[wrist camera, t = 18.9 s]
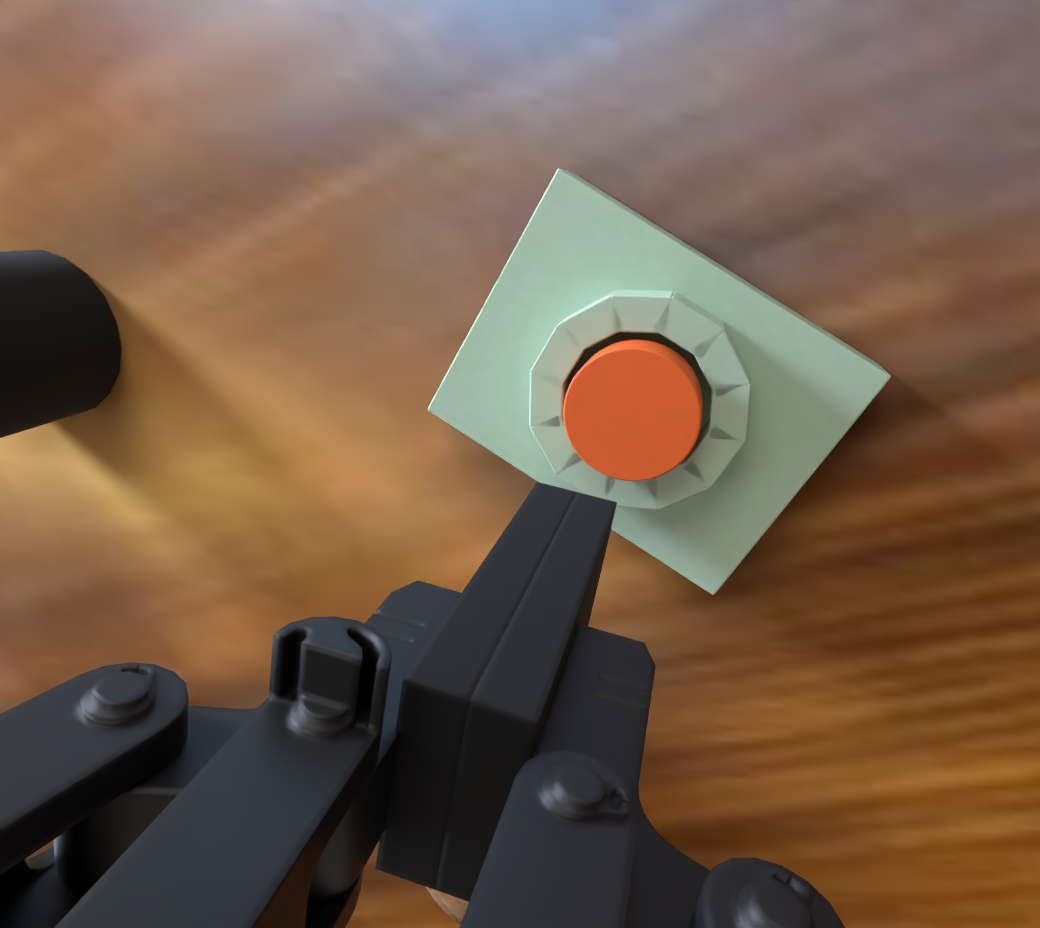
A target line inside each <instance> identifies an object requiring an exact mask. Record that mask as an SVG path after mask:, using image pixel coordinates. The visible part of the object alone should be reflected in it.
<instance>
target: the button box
mask: <svg viewBox="0 0 1040 928" xmlns="http://www.w3.org/2000/svg"><path fill="white" fill-rule="evenodd" d="M630 339H642V340H650V341H654V342H658V343H660V344H663V345H665V346H667V347H669V348H671V349H673V350H674V351H675V352H677V353H678V354H680V355H681V356H682V357H683V358H684V359H685V360H686V361H687V362H688V364H689V365H690V366H691V367H692V369H693V371H694V372H695V374H696V376H697V378H698V380H699V383H700V386H701V390H702V396H703V412H702V422H701V428H700V432H699V436H698V439H697V441H696V443H695V445H694V447H693V449H692V450H691V452H690V453H689V455H688V456H687V457H686V458H685V459H684V460H683V461H682V462H681V463H680V464H679V465H678V466H677V467H675V468H674V469H672V470H671V471H669V472H668V473H666V474H664V475H662V476H659V477H656V478H653V479H649V480H643V481H624V480H618V479H615V478H611V477H608V476H606V475H603V474H601V473H600V472H598V471H596V470H594V469H593V468H592V467H590V466H589V465H588V464H587V463H586V462H584V461H583V460H582V459H581V458H580V456H579V455H578V454H577V453H576V451H575V450H574V448H573V447H572V445H571V443H570V441H569V439H568V436H567V433H566V430H565V426H564V420H563V407H564V400H565V396H566V393H567V390H568V387H569V385H570V383H571V381H572V379H573V378H574V376H575V375H576V374H577V372H578V371H579V370H580V369H581V368H582V367H583V366H584V364H585V363H586V362H587V361H588V360H589V359H590V358H591V357H592V356H593V355H594V354H596V353H597V352H598V351H600V350H601V349H603V348H605V347H606V346H609V345H611V344H613V343H616V342H620V341H624V340H630ZM890 378H891V376H890V375H889V374H888V373H887V372H886V371H885V370H884V369H883V368H882V367H881V366H880V365H879V364H878V363H876V362H875V361H873V360H872V359H870V358H868V357H867V356H865V355H864V354H862V353H860V352H859V351H857V350H856V349H854V348H852V347H851V346H849V345H848V344H846V343H844V342H843V341H841V340H840V339H838V338H836V337H835V336H833V335H832V334H830V333H828V332H827V331H825V330H824V329H822V328H820V327H819V326H817V325H816V324H814V323H812V322H811V321H809V320H808V319H806V318H804V317H803V316H801V315H800V314H798V313H796V312H795V311H793V310H792V309H790V308H788V307H787V306H785V305H784V304H782V303H780V302H779V301H777V300H776V299H774V298H772V297H771V296H769V295H768V294H766V293H764V292H763V291H761V290H760V289H758V288H756V287H755V286H753V285H752V284H750V283H748V282H747V281H745V280H744V279H742V278H740V277H739V276H737V275H736V274H734V273H732V272H731V271H729V270H728V269H726V268H724V267H723V266H721V265H720V264H718V263H716V262H715V261H713V260H712V259H710V258H708V257H707V256H705V255H704V254H702V253H700V252H699V251H697V250H696V249H694V248H692V247H691V246H689V245H688V244H686V243H684V242H683V241H681V240H680V239H678V238H676V237H675V236H673V235H672V234H670V233H668V232H667V231H665V230H664V229H662V228H660V227H659V226H657V225H656V224H654V223H652V222H651V221H649V220H648V219H646V218H644V217H643V216H641V215H640V214H638V213H636V212H635V211H633V210H632V209H630V208H628V207H627V206H625V205H624V204H622V203H620V202H619V201H617V200H616V199H614V198H612V197H611V196H609V195H608V194H606V193H604V192H603V191H601V190H600V189H598V188H596V187H595V186H593V185H592V184H590V183H588V182H587V181H585V180H584V179H582V178H580V177H579V176H577V175H576V174H574V173H572V172H570V171H566V170H562V169H558V170H557V171H556V173H555V175H554V177H553V179H552V181H551V182H550V184H549V186H548V188H547V190H546V192H545V193H544V195H543V197H542V199H541V201H540V203H539V204H538V206H537V208H536V210H535V212H534V214H533V215H532V217H531V219H530V221H529V223H528V225H527V227H526V228H525V230H524V232H523V234H522V236H521V238H520V239H519V241H518V243H517V245H516V247H515V249H514V250H513V252H512V254H511V256H510V258H509V260H508V261H507V263H506V265H505V267H504V269H503V271H502V273H501V274H500V276H499V278H498V280H497V282H496V284H495V285H494V287H493V289H492V291H491V293H490V295H489V296H488V298H487V300H486V302H485V304H484V306H483V308H482V309H481V311H480V313H479V315H478V317H477V319H476V320H475V322H474V324H473V326H472V328H471V330H470V331H469V333H468V335H467V337H466V339H465V341H464V342H463V344H462V346H461V348H460V350H459V352H458V354H457V355H456V357H455V359H454V361H453V363H452V365H451V366H450V368H449V370H448V372H447V374H446V376H445V377H444V379H443V381H442V383H441V385H440V387H439V388H438V390H437V392H436V394H435V396H434V398H433V400H432V401H431V403H430V405H429V407H428V411H430V412H431V413H433V414H434V415H436V416H437V417H439V418H440V419H442V420H444V421H445V422H447V423H448V424H450V425H451V426H453V427H454V428H456V429H457V430H459V431H460V432H462V433H464V434H465V435H467V436H468V437H470V438H471V439H473V440H474V441H476V442H477V443H479V444H481V445H482V446H484V447H485V448H487V449H488V450H490V451H491V452H493V453H494V454H496V455H498V456H499V457H501V458H502V459H504V460H505V461H507V462H508V463H510V464H511V465H513V466H515V467H516V468H518V469H519V470H521V471H522V472H524V473H525V474H527V475H528V476H530V477H532V478H533V479H535V480H536V481H538V482H540V483H544V484H548V485H552V486H556V487H560V488H564V489H567V490H571V491H575V492H579V493H583V494H587V495H591V496H595V497H599V498H603V499H607V500H610V501H614V502H617V505H616V510H615V514H614V518H613V522H612V527H611V529H612V530H613V531H615V532H616V533H618V534H620V535H621V536H623V537H624V538H626V539H627V540H629V541H630V542H632V543H633V544H635V545H637V546H638V547H640V548H641V549H643V550H644V551H646V552H647V553H649V554H650V555H652V556H653V557H655V558H657V559H658V560H660V561H661V562H663V563H664V564H666V565H667V566H669V567H670V568H672V569H674V570H675V571H677V572H678V573H680V574H681V575H683V576H684V577H686V578H687V579H689V580H691V581H692V582H694V583H695V584H697V585H698V586H700V587H701V588H703V589H704V590H706V591H708V592H709V593H711V594H712V595H714V594H715V593H716V592H717V591H718V590H719V589H720V587H721V586H722V585H723V584H724V582H725V581H726V580H727V579H728V577H729V576H730V575H731V574H732V573H733V571H734V570H735V569H736V568H737V566H738V565H739V564H740V563H741V561H742V560H743V559H744V558H745V557H746V555H747V554H748V553H749V552H750V550H751V549H752V548H753V547H754V545H755V544H756V543H757V542H758V541H759V539H760V538H761V537H762V536H763V534H764V533H765V532H766V531H767V529H768V528H769V527H770V526H771V525H772V523H773V522H774V521H775V520H776V518H777V517H778V516H779V515H780V513H781V512H782V511H783V510H784V509H785V507H786V506H787V505H788V504H789V502H790V501H791V500H792V499H793V497H794V496H795V495H796V494H797V493H798V491H799V490H800V489H801V488H802V486H803V485H804V484H805V483H806V481H807V480H808V479H809V478H810V477H811V475H812V474H813V473H814V472H815V470H816V469H817V468H818V467H819V465H820V464H821V463H822V462H823V461H824V459H825V458H826V457H827V456H828V454H829V453H830V452H831V451H832V450H833V448H834V447H835V446H836V445H837V443H838V442H839V441H840V440H841V438H842V437H843V436H844V435H845V434H846V432H847V431H848V430H849V429H850V427H851V426H852V425H853V424H854V422H855V421H856V420H857V419H858V418H859V416H860V415H861V414H862V413H863V411H864V410H865V409H866V408H867V406H868V405H869V404H870V403H871V402H872V400H873V399H874V398H875V397H876V395H877V394H878V393H879V392H880V390H881V389H882V388H883V387H884V386H885V384H886V383H887V382H888V381H889V379H890Z"/></svg>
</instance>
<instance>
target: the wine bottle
mask: <svg viewBox="0 0 1040 928" xmlns="http://www.w3.org/2000/svg"><path fill="white" fill-rule="evenodd" d="M120 350H121V347H120V342H119V337H118V331H117V326H116V321H115V319H114V317H113V315H112V313H111V310H110V308H109V306H108V304H107V302H106V300H105V297H104V296H103V294H102V293H101V292H100V291H99V289H98V288H97V287H96V285H95V284H94V283H93V282H92V280H91V279H90V278H89V277H88V275H87V274H86V273H84V272H83V271H82V270H80V269H79V268H78V267H76V266H75V265H74V264H72V263H71V262H70V261H68V260H67V259H65V258H63V257H60V256H58V255H55V254H52V253H49V252H46V251H43V250H32V251H9V252H0V438H2V437H5V436H8V435H11V434H14V433H18V432H21V431H24V430H27V429H31V428H34V427H37V426H40V425H43V424H47V423H50V422H53V421H56V420H59V419H63V418H66V417H69V416H72V415H75V414H78V413H81V412H84V411H86V410H89V409H92V408H94V407H96V406H97V405H98V404H99V403H100V402H101V401H102V400H103V399H104V398H105V397H106V396H107V395H108V394H109V393H110V391H111V389H112V387H113V384H114V382H115V380H116V377H117V375H118V373H119V362H120Z"/></svg>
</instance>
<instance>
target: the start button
mask: <svg viewBox="0 0 1040 928" xmlns="http://www.w3.org/2000/svg"><path fill="white" fill-rule="evenodd" d="M702 412H703V396H702V390H701V386H700V383H699V380H698V378H697V376H696V374H695V372H694V371H693V369H692V367H691V366H690V365H689V364H688V362H687V361H686V360H685V359H684V358H683V357H682V356H681V355H680V354H678V353H677V352H675V351H674V350H673V349H671V348H669V347H667V346H665V345H663V344H660V343H658V342H654V341H650V340H642V339H630V340H624V341H620V342H616V343H613V344H611V345H609V346H606V347H605V348H603V349H601V350H600V351H598V352H597V353H596V354H594V355H593V356H592V357H591V358H590V359H589V360H588V361H587V362H586V363H585V364H584V366H583V367H582V368H581V369H580V370H579V371H578V372H577V374H576V375H575V376H574V378H573V379H572V381H571V383H570V385H569V387H568V390H567V393H566V396H565V400H564V407H563V420H564V426H565V430H566V433H567V436H568V439H569V441H570V443H571V445H572V447H573V448H574V450H575V451H576V453H577V454H578V455H579V456H580V458H581V459H582V460H583V461H584V462H586V463H587V464H588V465H589V466H590V467H592V468H593V469H594V470H596V471H598V472H600V473H601V474H603V475H606V476H608V477H611V478H615V479H618V480H624V481H643V480H649V479H653V478H656V477H659V476H662V475H664V474H666V473H668V472H669V471H671V470H672V469H674V468H675V467H677V466H678V465H679V464H680V463H681V462H682V461H683V460H684V459H685V458H686V457H687V456H688V455H689V453H690V452H691V450H692V449H693V447H694V445H695V443H696V441H697V439H698V436H699V432H700V428H701V422H702Z"/></svg>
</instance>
